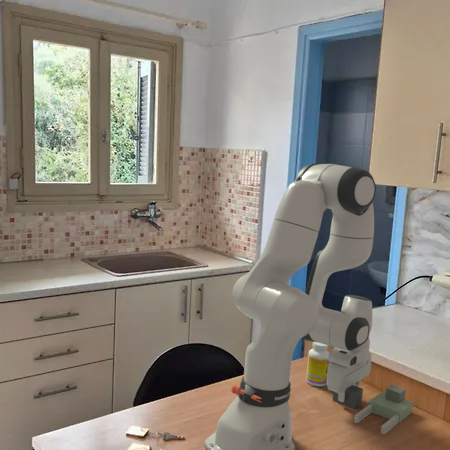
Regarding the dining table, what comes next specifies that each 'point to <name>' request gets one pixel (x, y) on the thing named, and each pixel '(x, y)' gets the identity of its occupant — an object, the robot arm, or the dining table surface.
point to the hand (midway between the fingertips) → (347, 397)
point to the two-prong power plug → (388, 407)
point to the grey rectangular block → (351, 397)
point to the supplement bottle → (317, 365)
